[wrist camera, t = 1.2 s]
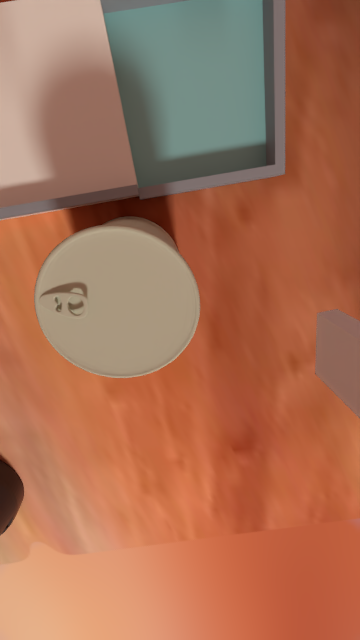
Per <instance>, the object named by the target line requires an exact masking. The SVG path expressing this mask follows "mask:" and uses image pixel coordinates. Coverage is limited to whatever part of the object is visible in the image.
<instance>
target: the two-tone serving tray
mask: <svg viewBox="0 0 360 640" xmlns="http://www.w3.org/2000/svg"><path fill="white" fill-rule="evenodd" d="M283 174H285V0H15V1H8V2H1V3H0V220H5V219H11V218H17V217H22V216H28V215H34V214H40V213H46V212H51V211H57V210H63V209H69V208H74V207H80V206H86V205H92V204H97V203H103V202H109V201H115V200H120V199H126V198H132V197H138V196H139V197H140V200H143V199H149V198H154V197H160V196H166V195H172V194H177V193H183V192H189V191H195V190H200V189H206V188H212V187H218V186H223V185H229V184H235V183H241V182H246V181H252V180H258V179H264V178H269V177H275V176H279V175H283Z"/></svg>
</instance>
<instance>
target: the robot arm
mask: <svg viewBox="0 0 360 640" xmlns="http://www.w3.org/2000/svg"><path fill="white" fill-rule="evenodd" d="M315 374H316V375H317V376H318V377H319V378H320V379H321V380H322V381H323V382H324V383H325V384H326V385H327V386H328V387H329V388H330V389H331V390H332V391H333V392H334V393H335V394H336V395H337V396H338V397H339V398H340V399H341V400H342V401H343V402H344V403H345V404H346V405H347V406H348V407H349V408H350V409H351V410H352V411H353V412H354V413H355V414H356V415H357V416H358V417H359V418H360V321H358V320H357V319H355V318H353V317H351V316H349V315H347V314H345V313H344V312H342V311H340V310H338V309H334V310H330V311H325V312H320V313H317V335H316V368H315ZM23 497H24V489H23V485H22V482H21V480H20V478H19V477H18V475H17V474H16V473H15V472H14V471H13V470H12V469H11V468H10V467H9V466H8V465H7V464H5V463H4V462H2V461H1V460H0V535H1V534H2V533H4V532H5V531H6V530H7V529H8V527H9V526H10V525H11V523H12V522H13V520H14V519H15V517H16V514H17V512H18V510H19V508H20V505H21V503H22V501H23Z"/></svg>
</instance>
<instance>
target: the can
mask: <svg viewBox="0 0 360 640" xmlns="http://www.w3.org/2000/svg"><path fill="white" fill-rule="evenodd" d="M34 302H35V310H36V315H37V318H38V321H39V324H40V327H41V329H42V331H43V333H44V334H45V336H46V338H47V339H48V341H49V342H50V343H51V345H52V346H53V347H54V348H55V349H56V350H57V351H58V352H59V353H60V354H61V355H62V356H63V357H64V358H65V359H67V360H68V361H69V362H71V363H72V364H74V365H76V366H77V367H79V368H81V369H83V370H85V371H88V372H91V373H94V374H97V375H101V376H106V377H113V378H130V377H137V376H142V375H146V374H149V373H152V372H154V371H157V370H159V369H161V368H162V367H164V366H166V365H168V364H169V363H170V362H172V361H173V360H174V359H175V358H176V357H177V356H179V355H180V354H181V353H182V351H183V350H184V349H185V348H186V347H187V345H188V344H189V342H190V340H191V339H192V337H193V335H194V332H195V330H196V327H197V324H198V320H199V314H200V297H199V291H198V286H197V283H196V280H195V277H194V275H193V273H192V271H191V269H190V267H189V266H188V264H187V263H186V261H185V260H184V258H183V257H182V256H181V255H180V254H179V251H178V249H177V246H176V244H175V243H174V241H173V239H172V238H171V237H170V235H169V234H168V233H167V232H166V231H165V230H164V229H163V228H161V227H160V226H159V225H157V224H156V223H154V222H152V221H150V220H147V219H144V218H140V217H133V216H127V217H119V218H115V219H113V220H110V221H108V222H106V223H104V224H103V225H100V226H94V227H90V228H87V229H84V230H81V231H79V232H77V233H75V234H73V235H71V236H69V237H68V238H66V239H65V240H63V241H62V242H61V243H60V244H58V245H57V246H56V247H55V248H54V249H53V250H52V252H51V253H50V254H49V255H48V257H47V258H46V260H45V261H44V263H43V265H42V267H41V269H40V271H39V274H38V277H37V280H36V285H35V294H34Z"/></svg>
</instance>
